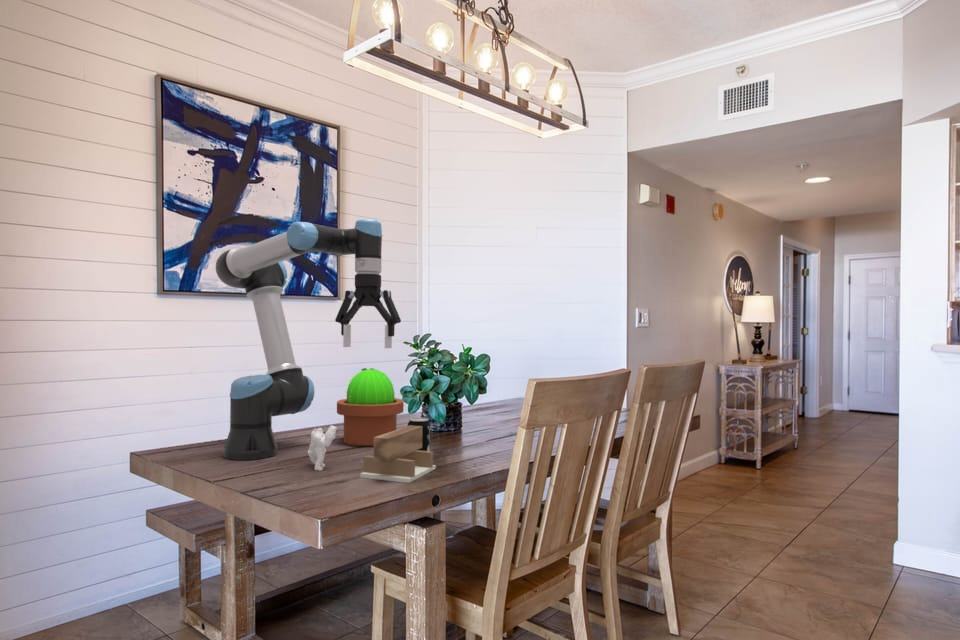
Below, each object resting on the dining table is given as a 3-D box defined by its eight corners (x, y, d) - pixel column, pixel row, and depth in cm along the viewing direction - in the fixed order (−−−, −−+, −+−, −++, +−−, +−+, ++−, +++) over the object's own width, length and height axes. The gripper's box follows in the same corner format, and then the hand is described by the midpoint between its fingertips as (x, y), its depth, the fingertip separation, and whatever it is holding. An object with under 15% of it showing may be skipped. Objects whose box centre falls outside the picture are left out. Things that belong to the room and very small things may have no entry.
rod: (373, 461, 153) (373, 437, 154) (409, 446, 172) (409, 425, 172) (387, 462, 152) (387, 438, 152) (422, 447, 171) (422, 426, 171)
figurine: (339, 469, 165) (339, 425, 165) (323, 473, 161) (324, 427, 161) (315, 463, 172) (316, 421, 172) (300, 466, 168) (301, 423, 168)
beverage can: (426, 463, 173) (426, 421, 173) (403, 462, 175) (404, 420, 175) (432, 458, 180) (432, 417, 180) (411, 457, 181) (411, 416, 181)
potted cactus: (399, 448, 193) (400, 369, 194) (329, 447, 193) (330, 369, 193) (406, 435, 215) (407, 365, 216) (344, 435, 215) (344, 364, 215)
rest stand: (360, 477, 157) (360, 458, 157) (390, 464, 172) (390, 446, 172) (408, 482, 152) (408, 462, 152) (435, 468, 167) (435, 450, 167)
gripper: (323, 273, 176) (322, 346, 176) (400, 271, 167) (399, 349, 167) (338, 275, 183) (337, 346, 183) (412, 274, 174) (412, 348, 174)
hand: (367, 347), depth 175 cm, fingers open, 13 cm apart
